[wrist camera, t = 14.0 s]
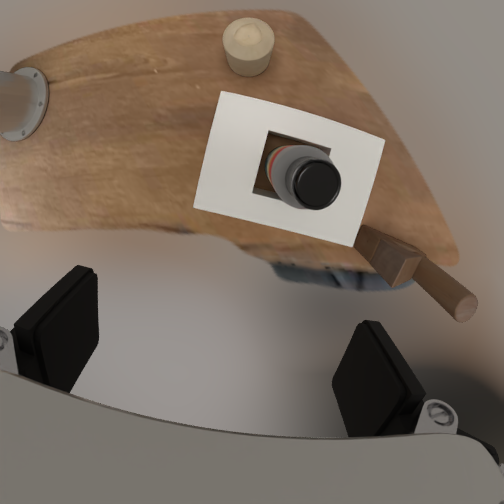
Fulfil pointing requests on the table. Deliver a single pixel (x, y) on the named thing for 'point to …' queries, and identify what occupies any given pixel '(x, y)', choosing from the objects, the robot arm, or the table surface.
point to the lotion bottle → (303, 176)
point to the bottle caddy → (248, 159)
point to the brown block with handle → (414, 271)
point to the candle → (248, 46)
